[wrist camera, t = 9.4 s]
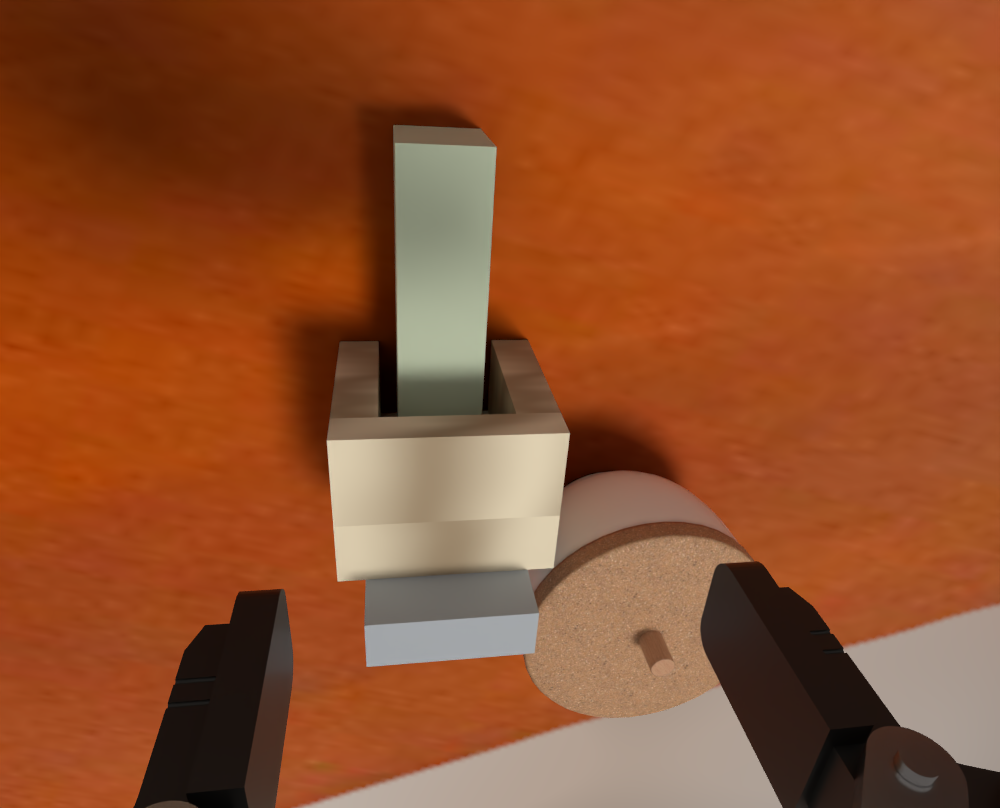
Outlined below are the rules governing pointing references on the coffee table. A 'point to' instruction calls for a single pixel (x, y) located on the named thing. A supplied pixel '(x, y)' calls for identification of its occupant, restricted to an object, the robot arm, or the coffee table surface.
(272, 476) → the coffee table surface
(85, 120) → the coffee table surface
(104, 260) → the coffee table surface
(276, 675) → the robot arm
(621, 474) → the lidded jar
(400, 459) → the block
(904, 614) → the coffee table surface
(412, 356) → the pale green rectangular bar
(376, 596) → the wall
